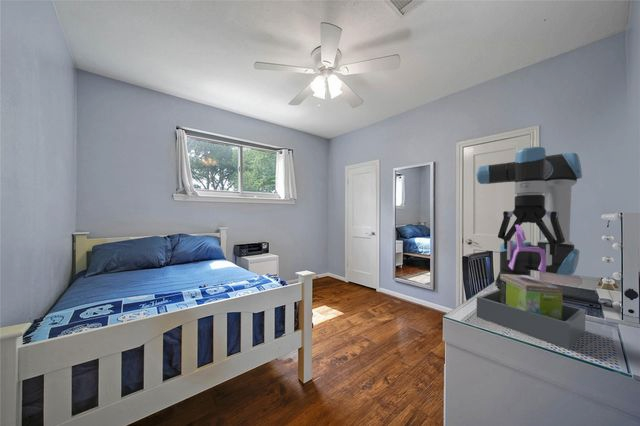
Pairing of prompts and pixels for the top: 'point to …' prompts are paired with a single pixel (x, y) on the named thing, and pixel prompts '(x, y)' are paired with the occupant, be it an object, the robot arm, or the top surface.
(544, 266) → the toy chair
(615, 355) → the top surface
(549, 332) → the crate
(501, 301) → the tea box
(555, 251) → the robot arm
